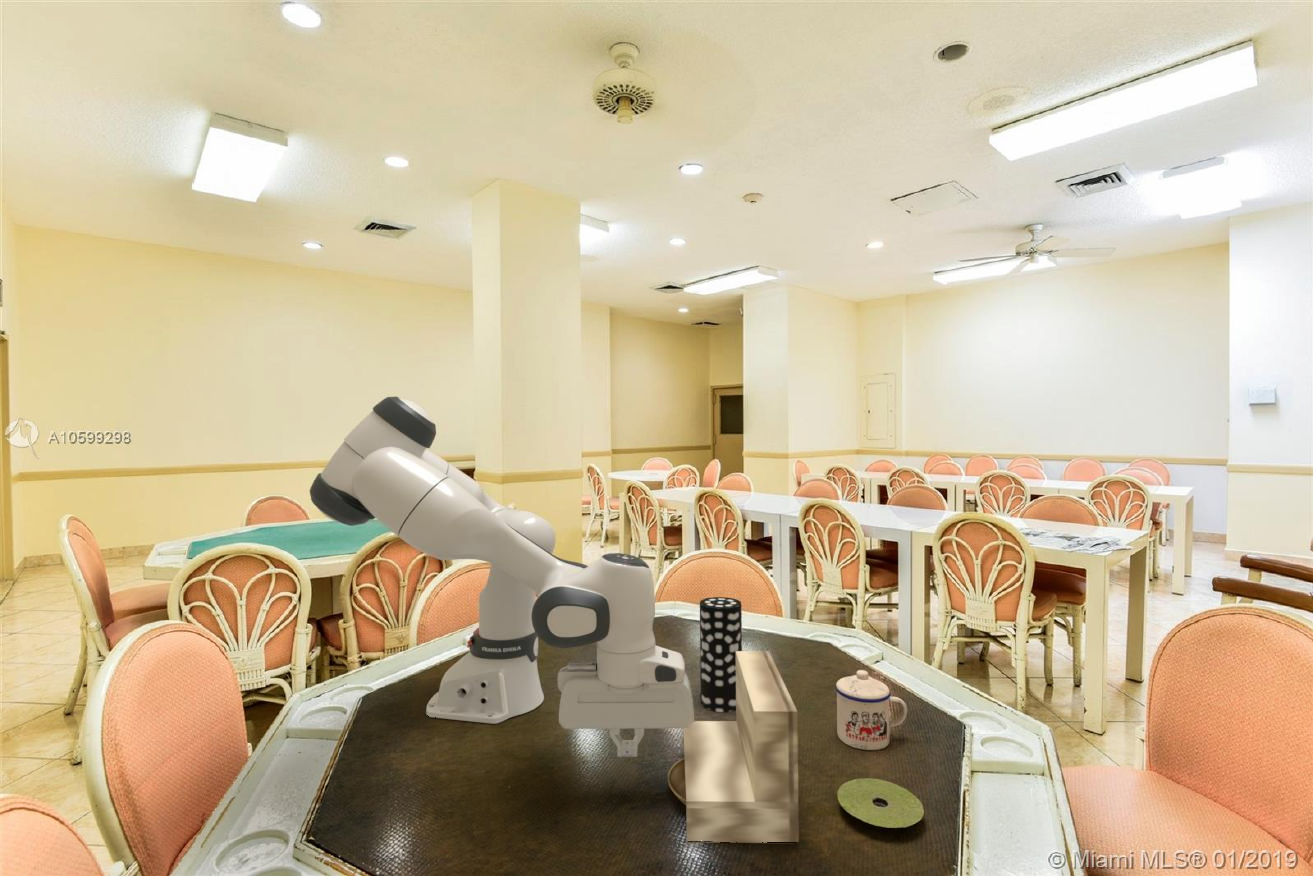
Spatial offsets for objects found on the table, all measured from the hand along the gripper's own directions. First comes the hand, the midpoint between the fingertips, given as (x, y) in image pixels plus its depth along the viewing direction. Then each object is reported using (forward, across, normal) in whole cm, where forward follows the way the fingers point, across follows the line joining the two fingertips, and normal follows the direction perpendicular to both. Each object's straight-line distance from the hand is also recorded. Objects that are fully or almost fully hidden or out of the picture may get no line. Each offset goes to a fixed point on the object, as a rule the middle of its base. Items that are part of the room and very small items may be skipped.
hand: (627, 754), depth 88 cm
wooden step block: (+5, +16, -1) cm, 16 cm away
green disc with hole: (+6, +36, -6) cm, 36 cm away
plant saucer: (+6, +13, -1) cm, 15 cm away
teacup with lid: (+6, +42, +15) cm, 45 cm away
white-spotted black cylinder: (+6, +17, +29) cm, 34 cm away
